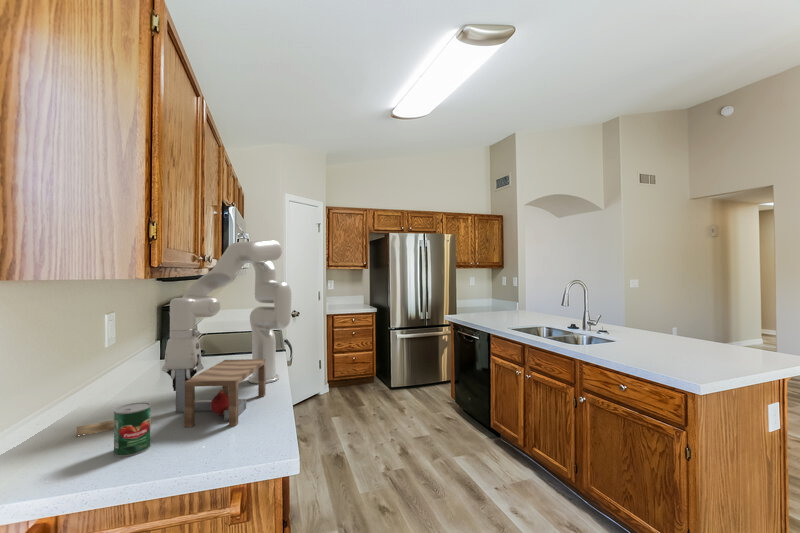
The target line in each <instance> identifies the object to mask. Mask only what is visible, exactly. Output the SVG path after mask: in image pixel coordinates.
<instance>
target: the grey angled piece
mask: <svg viewBox="0 0 800 533" xmlns="http://www.w3.org/2000/svg"><path fill="white" fill-rule="evenodd" d="M186 378H187V376H186V369H176V391H175V413H176V414H177V413H184V411H185V379H186ZM211 402H212V399H204V400H203V399H195V412H213V411H212V409H211ZM246 409H247V398H238V417H239V416H240V415H241V414H242V413H243V412H244V411H245V410H246ZM223 421H225V422H227V421H229V407H228V408H227V409H226V410H224V414H223Z"/></svg>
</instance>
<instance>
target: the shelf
mask: <svg viewBox="0 0 800 533" xmlns="http://www.w3.org/2000/svg"><path fill="white" fill-rule="evenodd" d="M257 369H258V385H257V386H258V389H257V391H258V392H257V393H258V394H257V396H258V397H260V398H264V397H265V396H266V384H267V383H266V359H251V358H250V359H248V358H247V359H245V358H244V359H224V360H221V361H220V362H218V363H216V364H215V365H213V366H211V367H209V368H207V369H206V370H204V371H202V372H200V373H198V374H195V375H194V376H193V377H192V378H191V379H189V380H187V381H185V411H184V412H183V413H184V415H183V417H184V419H183V420H184V421H183V422H184V426H183V427H184V428H192V427H193V426H195V424H196V423H195V418H196V416H195V415H196V411H195V400H196V396H195V395H196V390H195V389H196V388H197V387H222V390H223V393H225V394H227V395H228V396H229V420H228V427H237V426H238V424H239V416H238V399H239V384H240V383H242V382H243V381H244V380H245V379H248V378H249V377H250V376H252V373H253V372H254V371H256V370H257ZM195 387H196V388H195Z"/></svg>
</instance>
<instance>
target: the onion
mask: <svg viewBox="0 0 800 533" xmlns="http://www.w3.org/2000/svg"><path fill="white" fill-rule="evenodd" d="M211 400H212V402H211V409H212V411H211V412H213V413H215V414H217V415H218V416H224V410H226V409H227V408H228V407H229V396H228V395H227V394H225V393H223V389H220V390H219V391H218V393H217V394H215V395H214V397H213V398H212V399H211Z"/></svg>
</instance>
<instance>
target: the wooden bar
mask: <svg viewBox="0 0 800 533" xmlns="http://www.w3.org/2000/svg"><path fill="white" fill-rule="evenodd" d="M113 429H114V419H111V420H108V421H107V420H106V421H102V422H97V423H90V424H85V425H81V426H80V425H79V426H77V427H76V431H75V432H76V435H75V437H76V436H78V435H83V434H89V435H92V434H91V433H94V434H97V433H96V432H99V433H103V432H102V431H104V432H108V431H107V430H109V431H114V430H113Z"/></svg>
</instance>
